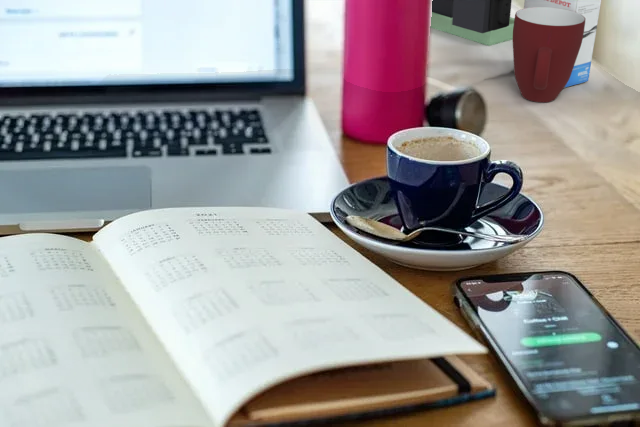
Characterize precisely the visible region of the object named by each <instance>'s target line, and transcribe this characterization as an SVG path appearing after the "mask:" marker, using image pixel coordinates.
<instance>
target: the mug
mask: <svg viewBox="0 0 640 427" xmlns="http://www.w3.org/2000/svg"><path fill="white" fill-rule="evenodd" d="M514 18H515V19H514V26H513V39H512V54H513V55H512V56H513V72H514V73H513V74H514V78H515V81H516V84H517V86H518V89H519V91H520V93H521V95H522V97H523V98H524V99H525V100H526V101H527V100H528V101H530V102H534V103H550V102H553V101H555V100H556V99H557V98H558V97H559V95H560V94H561V93H562V91H563V90H564V89H565V88H566V87H565V86H566V84H567V82H568V81H569V79H570V76H571V73H572V70H573V67H574V64H575V62H576V59H577V56H578V53H579V50H580V47H581V44H582V40H583V34H584V28H585V17H584V16H583V15H581V14H579V13H577V12H574V11H570V10H566V9H560V8H551V7H531V8H525V9H524V8H521V9H519V10H517V11H516V12H515V14H514ZM564 87H565V88H564Z"/></svg>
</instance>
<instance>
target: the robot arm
mask: <svg viewBox="0 0 640 427" xmlns="http://www.w3.org/2000/svg"><path fill="white" fill-rule="evenodd" d="M511 9H512V0H491V1H490V13H489V25H488V27H489V29H490V30H493V31H494V30H497V29H501V28H504V27H507V26H508V25H509V20H510V17H511V12H512V10H511Z"/></svg>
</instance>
